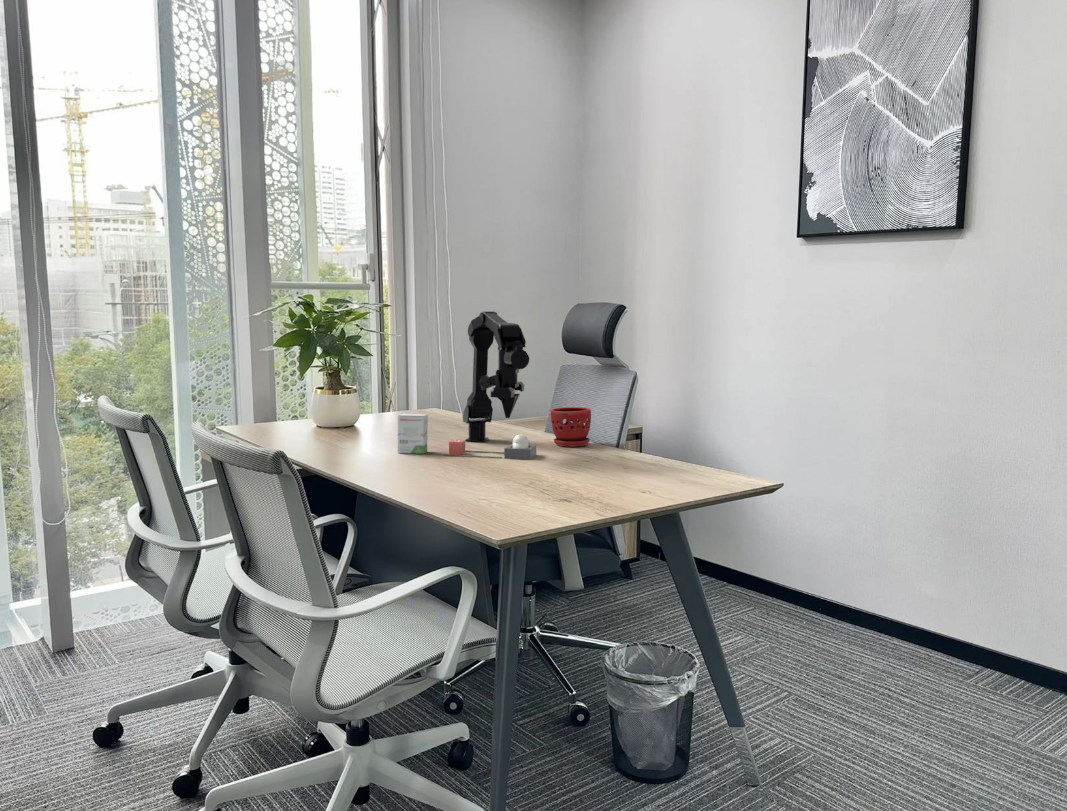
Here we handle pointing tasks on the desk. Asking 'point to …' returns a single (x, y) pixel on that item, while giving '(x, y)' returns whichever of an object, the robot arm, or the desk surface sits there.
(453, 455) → the track
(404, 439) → the ink box
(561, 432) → the plant pot
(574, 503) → the desk surface
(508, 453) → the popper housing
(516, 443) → the dome
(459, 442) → the die
